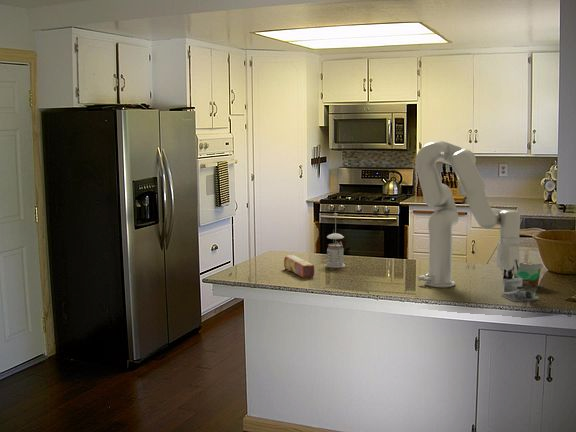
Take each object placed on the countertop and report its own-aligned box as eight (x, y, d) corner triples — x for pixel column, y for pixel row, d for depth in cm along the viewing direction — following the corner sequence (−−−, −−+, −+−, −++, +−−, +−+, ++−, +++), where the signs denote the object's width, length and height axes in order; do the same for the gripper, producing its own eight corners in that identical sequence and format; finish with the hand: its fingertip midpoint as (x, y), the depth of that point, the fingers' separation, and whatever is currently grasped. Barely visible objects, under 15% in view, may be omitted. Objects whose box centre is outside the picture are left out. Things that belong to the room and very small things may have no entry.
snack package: (315, 278, 312) (315, 263, 311) (302, 279, 310) (302, 264, 309) (296, 268, 332) (296, 253, 331) (283, 269, 329) (283, 255, 328)
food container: (509, 286, 296) (511, 263, 294) (510, 283, 302) (512, 260, 300) (541, 289, 292) (542, 265, 290) (541, 286, 297) (543, 262, 296)
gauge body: (514, 302, 273) (514, 293, 272) (501, 296, 281) (501, 288, 281) (539, 300, 276) (539, 291, 275) (525, 294, 284) (526, 286, 284)
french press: (340, 262, 343) (341, 211, 339) (350, 267, 332) (351, 214, 328) (321, 263, 340) (322, 212, 336) (330, 269, 329) (331, 215, 325)
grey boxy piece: (515, 296, 275) (515, 284, 274) (502, 291, 283) (502, 278, 283) (536, 295, 277) (537, 282, 277) (523, 289, 286) (523, 277, 285)
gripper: (490, 238, 290) (489, 282, 293) (511, 244, 276) (509, 290, 279) (506, 237, 292) (505, 280, 295) (528, 243, 278) (526, 289, 281)
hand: (507, 285), depth 287 cm, fingers closed
